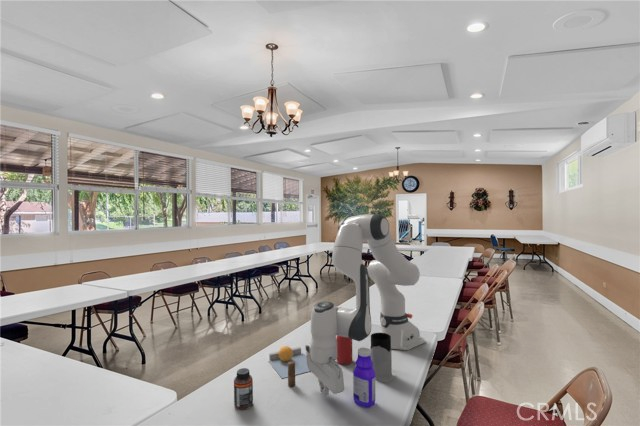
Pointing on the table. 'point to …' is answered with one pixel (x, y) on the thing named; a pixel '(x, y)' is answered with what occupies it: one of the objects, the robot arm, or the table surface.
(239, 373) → the supplement bottle
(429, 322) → the table surface
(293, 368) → the left post
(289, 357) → the ball
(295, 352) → the stopper wall
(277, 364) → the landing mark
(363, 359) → the bottle
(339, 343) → the beer can
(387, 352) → the glass holder
